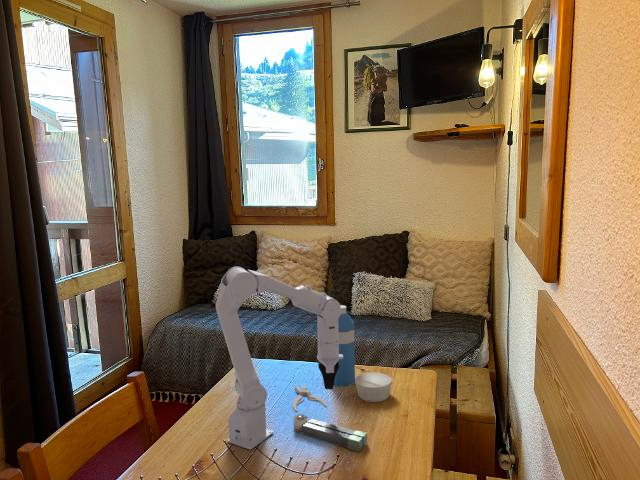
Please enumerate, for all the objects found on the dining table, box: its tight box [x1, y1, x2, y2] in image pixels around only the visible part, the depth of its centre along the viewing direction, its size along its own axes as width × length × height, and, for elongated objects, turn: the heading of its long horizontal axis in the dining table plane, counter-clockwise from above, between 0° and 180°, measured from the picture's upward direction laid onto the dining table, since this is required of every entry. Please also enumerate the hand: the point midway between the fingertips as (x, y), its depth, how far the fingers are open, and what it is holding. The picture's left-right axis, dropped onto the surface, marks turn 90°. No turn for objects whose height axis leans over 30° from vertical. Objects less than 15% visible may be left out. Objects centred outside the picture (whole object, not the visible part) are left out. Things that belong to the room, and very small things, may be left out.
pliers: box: [292, 384, 328, 413], centre depth 145 cm, size 10×2×15 cm
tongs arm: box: [307, 418, 368, 448], centre depth 122 cm, size 2×16×3 cm, turn 58°
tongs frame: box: [293, 413, 364, 453], centre depth 122 cm, size 4×20×4 cm, turn 58°
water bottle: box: [334, 304, 356, 387], centre depth 156 cm, size 9×9×25 cm
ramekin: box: [354, 372, 393, 403], centre depth 146 cm, size 11×11×5 cm
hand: (328, 388), depth 131 cm, fingers closed
